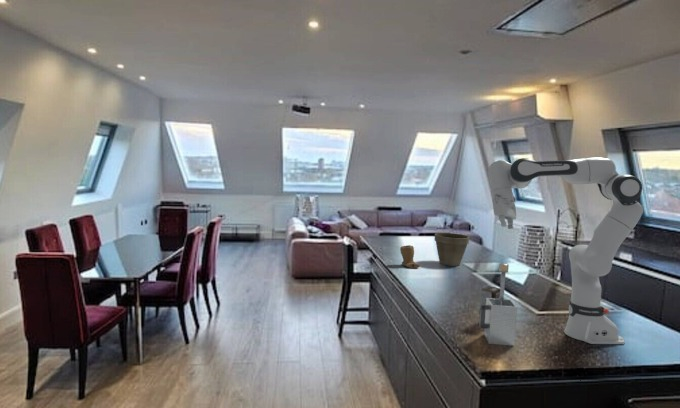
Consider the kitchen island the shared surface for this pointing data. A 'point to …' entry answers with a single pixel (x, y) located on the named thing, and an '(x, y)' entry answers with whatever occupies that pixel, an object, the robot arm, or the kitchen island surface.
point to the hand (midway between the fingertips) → (507, 227)
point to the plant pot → (451, 247)
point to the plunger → (502, 281)
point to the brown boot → (408, 256)
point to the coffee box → (488, 295)
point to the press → (499, 321)
